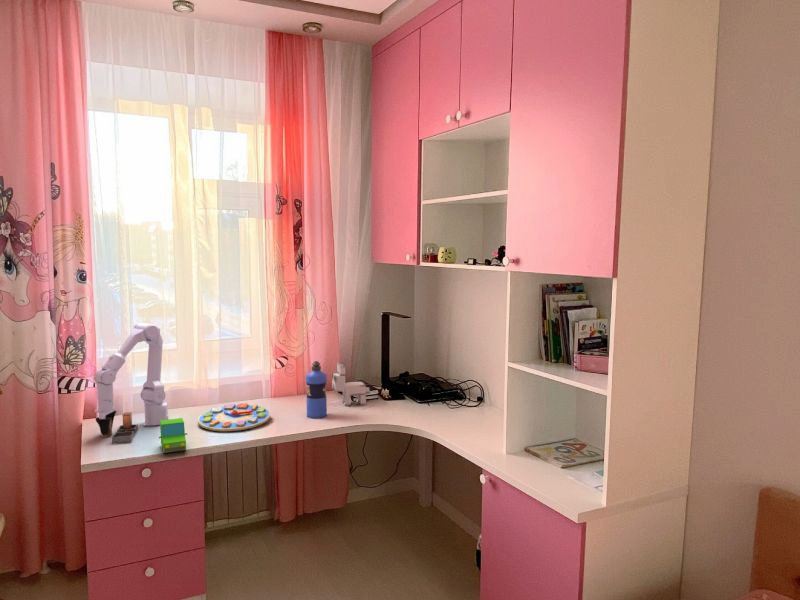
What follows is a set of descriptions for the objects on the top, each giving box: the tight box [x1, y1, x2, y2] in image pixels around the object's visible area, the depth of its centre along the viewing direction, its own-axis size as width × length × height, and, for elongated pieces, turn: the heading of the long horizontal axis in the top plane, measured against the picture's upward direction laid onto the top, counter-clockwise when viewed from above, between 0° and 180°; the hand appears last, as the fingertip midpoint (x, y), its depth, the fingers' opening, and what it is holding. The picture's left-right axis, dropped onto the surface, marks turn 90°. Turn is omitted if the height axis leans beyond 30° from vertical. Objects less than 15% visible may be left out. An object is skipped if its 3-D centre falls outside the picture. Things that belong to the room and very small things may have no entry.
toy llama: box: [331, 362, 371, 407], centre depth 296 cm, size 8×18×20 cm, turn 106°
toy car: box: [158, 417, 188, 455], centre depth 230 cm, size 10×13×10 cm
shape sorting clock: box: [197, 402, 271, 432], centre depth 266 cm, size 31×30×6 cm
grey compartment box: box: [111, 411, 139, 445], centre depth 246 cm, size 7×17×8 cm, turn 14°
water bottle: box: [305, 360, 328, 420], centre depth 275 cm, size 9×9×25 cm
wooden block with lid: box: [101, 421, 113, 438], centre depth 247 cm, size 3×3×7 cm
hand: (106, 431), depth 247 cm, fingers open, 7 cm apart
